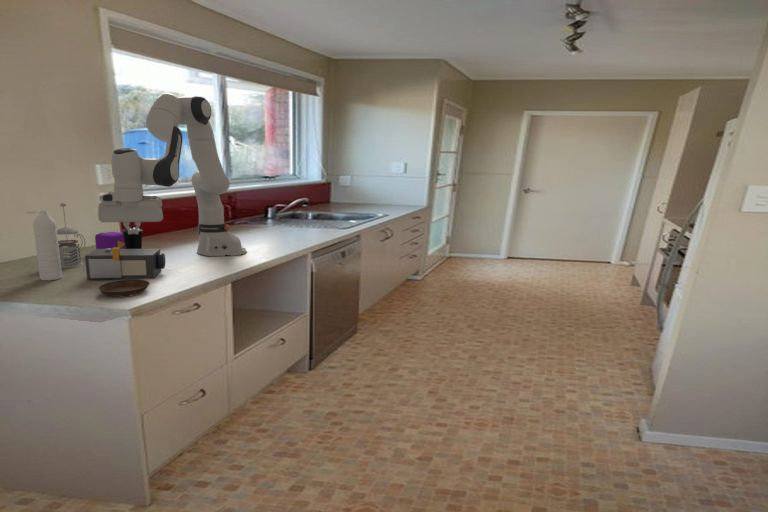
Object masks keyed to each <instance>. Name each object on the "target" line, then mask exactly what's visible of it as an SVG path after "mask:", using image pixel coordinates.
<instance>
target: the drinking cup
mask: <svg viewBox="0 0 768 512" xmlns="http://www.w3.org/2000/svg"><path fill="white" fill-rule="evenodd" d="M129 227H130V228H131V229H135V228H136V226H135V227H134V222H130V226H129ZM143 231H144V230H143V229H142V228H139V229H138V234H128V230H127V229H126V228H124V229H122V230H121V233H123V236H124V242H125V247H126V249H143V247H142V246H143V245H142V242H143Z"/></svg>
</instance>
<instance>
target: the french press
mask: <svg viewBox="0 0 768 512" xmlns="http://www.w3.org/2000/svg"><path fill="white" fill-rule="evenodd" d="M59 207H62V211H63V212H65V207H67V204H66V203H65V202H63V203H62V202H61V203H60V204H59ZM63 218H64V220H63V221H66V215H65V213H63ZM66 224H67V223H66V222H64V227H61V228H57V229H56V230H57V235H66V238H68V235H74V237H75V238H78V237H79V238H80V240H81V242H83V240H84V242H83V243H84V245H83V243H81V245H80V244H79V243H78V242H79V241H78V240H76V239H64V240H62V239H61V240H58V245H59V253H60V254H59V256H60V262H61V269H70V268H78V267H79V268H80V267H82V266H84V265H85V263H84V262H82V259H81V251H83V250H84V248H85V246H86V239H85V237H84V235H82V234H80V233H79V230H78V229H76V228H73V227H67V225H66ZM82 247H83V248H82ZM81 248H82V249H81Z"/></svg>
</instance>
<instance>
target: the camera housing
mask: <svg viewBox="0 0 768 512" xmlns="http://www.w3.org/2000/svg"><path fill="white" fill-rule="evenodd" d="M120 257H121V271H122V277H121V278H90V270H89V260H88V259H113V255H112V249H111V248H107V249H96V248H95V250H93V251H91V252H89V253H87V254H85V255H84V260H85V271H86V279H87V281H96V280H97V279H107V280H151V279H152V280H154V279H155V278H156V277H157V276H158V275H159V274H160V273H161V272H162V270H163V269H165V266H166V254H165V253H163V252H162V253H161V248H142V249H120ZM95 279H96V280H95Z"/></svg>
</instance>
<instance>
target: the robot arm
mask: <svg viewBox="0 0 768 512" xmlns="http://www.w3.org/2000/svg"><path fill="white" fill-rule="evenodd" d="M211 117H212V107H211V104H210V102H209V101H208V100H207V99H206V98H205V97H204V96H198V95H194V96H180V97H177V96H176V95H175V94H172V93H166V92H165V93H162V94H160V95H159V96H157V98H156V99H155V101H154V102H153V104H152V105H151V107H150V108H149V111H148V112H147V116H146V118H145V119H146V120H145V126H146V128H147V131H148V132H149V133H150V134H151V135H152V136H153V137H154V138H156V139H157V140H159V141H161V142H164V143H166V145H165V151H164V155H163V156H161V157H159V158H147V157H143V156H140V155H139V154H138V153H139V152H138V151H137V149H135V148H132V147H131V148H130V147H125V148H117V149H114V150H113V151H112V154H111V172H112V173H111V174H112V177H113V179H114V184H113V191H108V192H107V193H103V194H101V195H99V197H98V199H99V201H100V202H99V204H98V206H97V217H98V221H99V222H101V223H123V226H124V228H125V229H127V230H128V234H138V229H140V226H141V224H142V223H160V222H161V221H162V220H164V214H163V208H162V207H163V200H162V199H161V198H160V197H158V196H157V195H144V186H143V185H146V186H160V187H168V188H169V187H172V186H173V185H174V184H176V183H177V181H178V180H179V178H180V159H181V154H182V147H183V132H182V131H181V129H180V128H179V125H180V126H181V125H183V126H184V125H185V126H186V132H187V133H186V134H187V139H188V144H189V150H190V153H191V159H192V160H193V161H194V163H195V166H196V168H197V171H196V172H194V174H192V176H191V184H192V186H193V191H194V193H195V194H194V195H195V198H196V202H197V207H198V225H197V233H198V244H197V245H198V246H197V249H196V253H197V254H198V255H201V256H202V255H203V256H206V257H226V256H225V255H231V256H242V255H241V254H243V255H245V254H246V253H247V248H246V247H243V245H242V242H241V239H240V238H239V237H238V236H236V235H235V234H234V233H232V232H231V231H229V230H230V229H229V228H230V226H229V225H230V224H228V223H225V215H224V212H225V210H224V208H225V207H224V205H223V203H222V201H221V197H220V195H222V194H225V193H226V192H227V191H228V190H229V188H230V180H229V178H228V176H227V175H226V173H225V170H224V167H223V165H222V163H221V159H220V157H219V154H218V149H217V144H216V139H215V134H214V130H213V127H212V123H211V121H210V119H211ZM131 222H133V223H134V226H135V227H136V228H135V229H131V228H130V227H131V226H130V225H131ZM245 252H246V253H245ZM244 253H245V254H244Z"/></svg>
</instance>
